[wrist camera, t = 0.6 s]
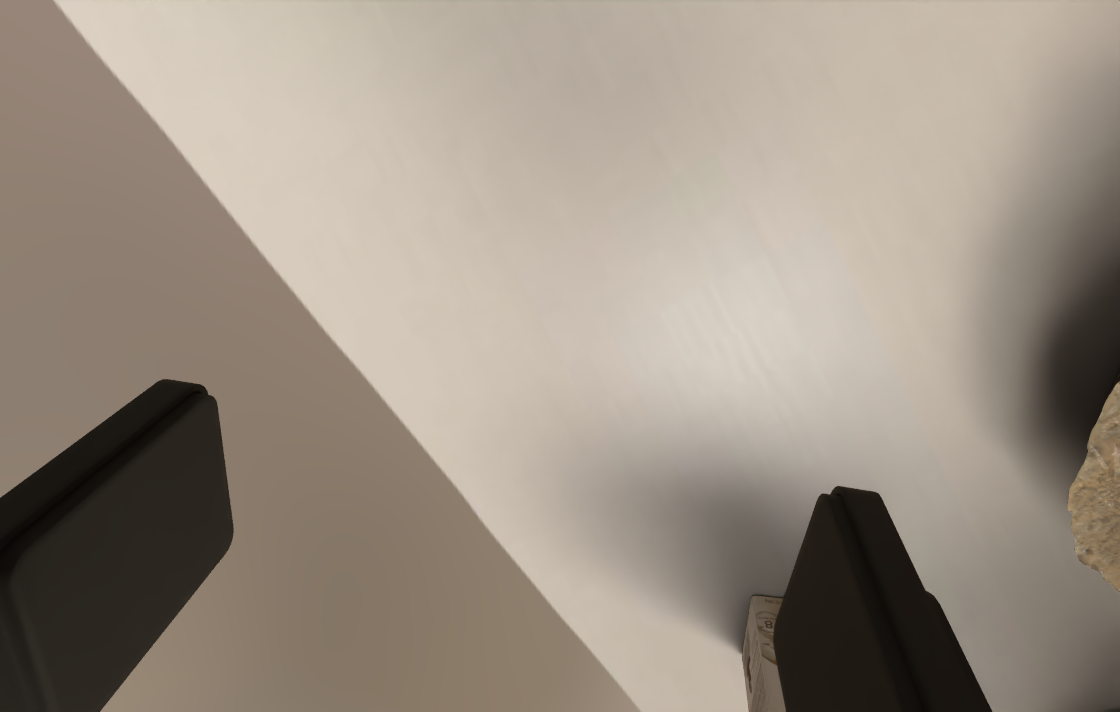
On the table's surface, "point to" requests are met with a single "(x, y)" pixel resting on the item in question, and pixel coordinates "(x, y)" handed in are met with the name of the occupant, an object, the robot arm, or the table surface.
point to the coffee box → (762, 657)
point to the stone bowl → (1100, 495)
